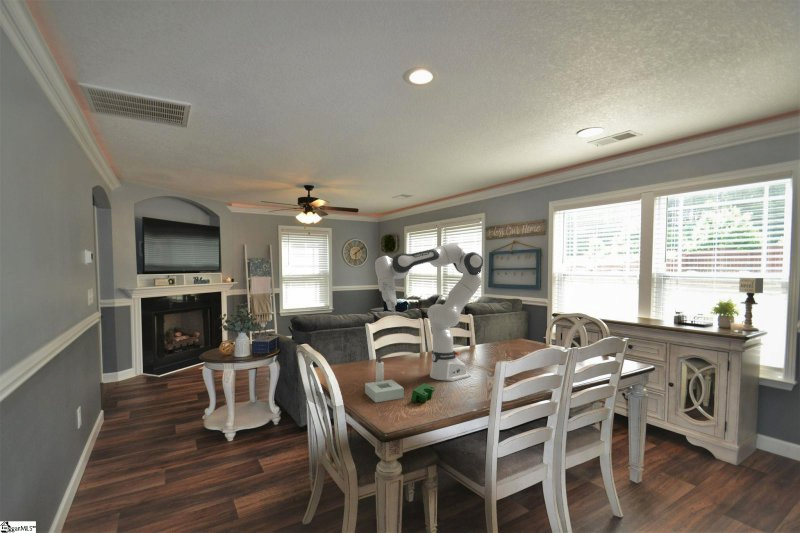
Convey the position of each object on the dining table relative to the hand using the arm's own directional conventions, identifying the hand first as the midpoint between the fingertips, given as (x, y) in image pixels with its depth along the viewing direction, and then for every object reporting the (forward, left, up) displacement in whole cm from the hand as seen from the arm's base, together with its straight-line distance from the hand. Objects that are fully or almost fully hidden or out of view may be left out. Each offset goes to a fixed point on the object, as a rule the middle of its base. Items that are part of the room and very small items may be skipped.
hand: (391, 311), depth 195 cm
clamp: (-4, +27, -38) cm, 47 cm away
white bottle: (+7, +1, -37) cm, 38 cm away
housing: (+10, +14, -37) cm, 41 cm away
